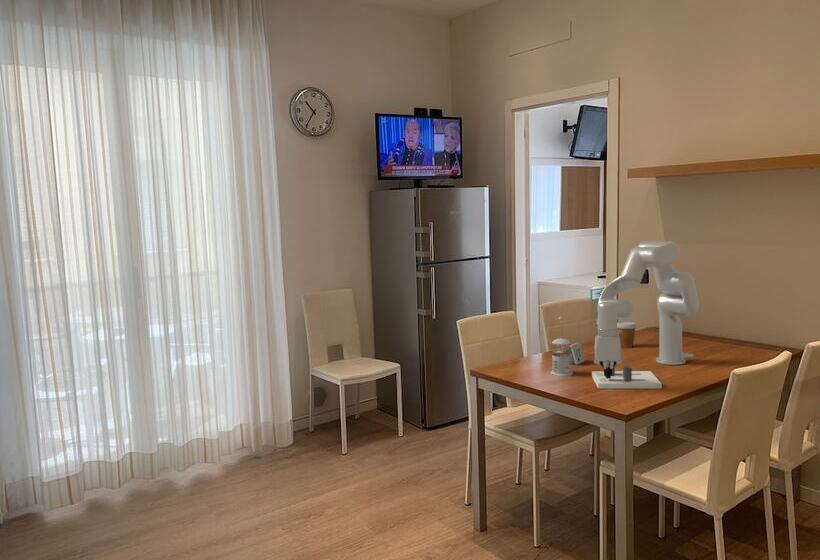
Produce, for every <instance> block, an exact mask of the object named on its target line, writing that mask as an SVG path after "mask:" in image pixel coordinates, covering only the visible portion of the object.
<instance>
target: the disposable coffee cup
mask: <svg viewBox="0 0 820 560" xmlns="http://www.w3.org/2000/svg"><path fill="white" fill-rule="evenodd" d="M636 327H637V323H636V322H634V321H619V322H618V321H617V329H618V330H621V333H619V334H618V336H619V338H620V344H621V346H623V347H622V348H626V347H629V348H633V347H634V343H635V334H636ZM632 346H633V347H632Z"/></svg>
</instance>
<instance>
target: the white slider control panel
mask: <svg viewBox="0 0 820 560" xmlns="http://www.w3.org/2000/svg"><path fill="white" fill-rule="evenodd" d="M606 365H607V368H608V366H609V361H606ZM615 366H616V365H615ZM615 366H614V367H613V368H612V376H611V379H609V378H608V379H606V377H605V376H604V370H603V371H601V370H599V371H598V370H597V371H596V370H595V371H591V377H592V380H593V381H594V384H595V385H596V387H597V389H662V388H663V387H662V385H663V384H662V382H661V381H660V380H659V379H658V377H657V376H656V375H655V374H654V373H653V371H651V370H636V371H635V370H632V381H625V380H624V378H623V370H620V371H617V370H615Z"/></svg>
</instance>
